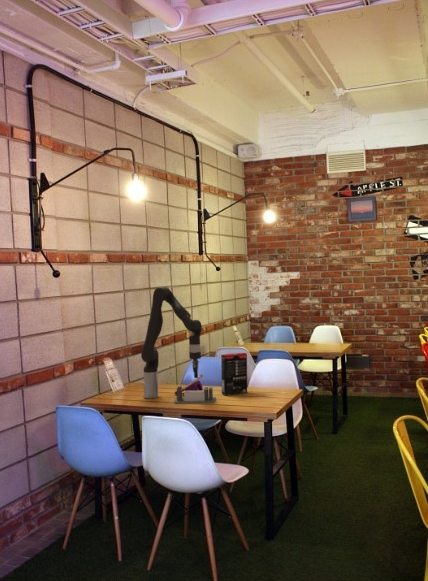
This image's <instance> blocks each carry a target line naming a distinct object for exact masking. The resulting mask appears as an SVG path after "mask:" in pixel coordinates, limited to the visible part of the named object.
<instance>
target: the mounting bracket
mask: <svg viewBox="0 0 428 581" xmlns="http://www.w3.org/2000/svg"><path fill="white" fill-rule="evenodd" d="M201 390H204V387H203V386H202V382H201V381H200V379H199V380H197V381H196V382H194V383H193V384H191V385H190V386H188V387H187V388H185V389H184V390H182V393H183V392H185V391H201ZM174 394H175V396H177V390H175V391H174Z"/></svg>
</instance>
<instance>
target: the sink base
mask: <svg viewBox="0 0 428 581" xmlns="http://www.w3.org/2000/svg"><path fill="white" fill-rule="evenodd" d="M182 388H183V387H182V385H181V386H177V387H176V391H177V395H176V398H175V399H174V400H173V404H174V403H179V404H180V403H183V404H215V402H216V399H217V397H216V396H214V394H213V392H214V390H213V387H209V386H204V387H203V390H201V391H184V393H183V392H182V391H181V389H182ZM183 394H184V395H183ZM183 396H184V397H183Z"/></svg>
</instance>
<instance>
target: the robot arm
mask: <svg viewBox="0 0 428 581" xmlns="http://www.w3.org/2000/svg"><path fill="white" fill-rule="evenodd" d="M164 302H166V303H167V304H169V306H171V308H172V310H173V313H174V314H175V316H176V317H177V318H178V319H180V321H182V324H183V325H184V327H185V329H187V331H189V332H191V334H190V335H189V337H188V343H189V346H188V354H189V360H192V361H191V364H192V370H193V376H194V377H193V378H194V379H197V378H199V364H200V361H199V360H200V359H202V347H201V334H202V322H201V321H200V320H199V319H192V318H191V317H192V315H191V314H190V312H189V311H188V310H187V309H186V308H185V307H184V306H183V305H182V304H181V302H179V301H178V299H177V298H176V296H175V295H174V293H173V292H172V291H171V289H170V288H168V287H166V286H158V287H156V288H154V290H153V294H152V303H151V310H150V315H149V316H150V317H149V319H148V324H147V329H146V330H147V331H146V335H145V339H144V340H145V341H144V343H143V346H142V349H141V354H140V356H141V359H142V361H143V362H144V363H145V365H144V367H143V398H144V397H145V398H146V399H155V398H159V381H158V380H159V379H158V377H159V376H158V375H159V374H158V368H159V352H158V350H157V348H155V345H156V343H157V340H158V338H159V336H160V334H161V333H162V328H163V323H164V316H163V311H162V307H163V303H164ZM145 398H144V399H145Z"/></svg>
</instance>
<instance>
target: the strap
mask: <svg viewBox="0 0 428 581" xmlns="http://www.w3.org/2000/svg"><path fill="white" fill-rule="evenodd" d="M203 377H204V375H203V373H200V374H199V376H198V378H195V379H194V380H192V381H191V382H190V383H188V384H187V385H185V386H184V387H182V389H181V391H182V390H184V389H185V388H187V387H188V386H190V385H191V384H193V383H194V382H196V381H198V380H199V381H200V380H201V379H203Z"/></svg>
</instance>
